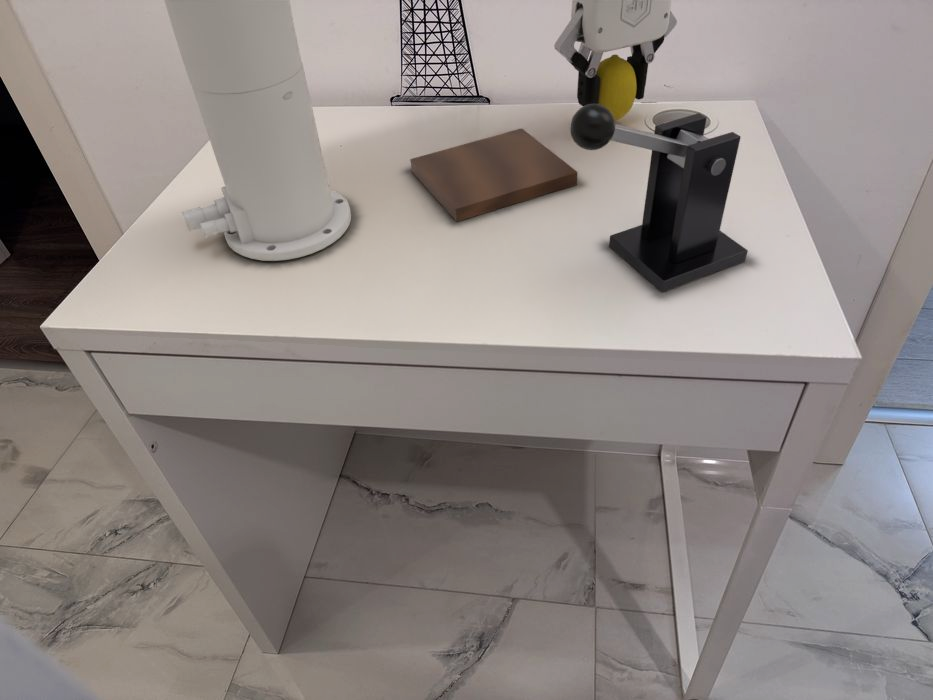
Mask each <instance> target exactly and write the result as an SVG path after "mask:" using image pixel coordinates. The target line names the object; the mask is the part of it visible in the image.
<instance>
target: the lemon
mask: <svg viewBox="0 0 933 700" xmlns="http://www.w3.org/2000/svg"><path fill="white" fill-rule="evenodd" d="M626 60H627V59H625V58H622V57H620V56H619V55H618V54H612V55H611V56H609V57H607V58H603V60H601V61H600V64H599V66H598V69H597V72H596V75H598V76H599V77H600V89H599V101H598V104H600V105H603V106H605V107H606V108H607V109H609V110H610V112H611V113H612V115H613V117H614V120H615V121H618V120H620V119H622V118H623V117H625V116H626V115H627V114H628V113H629V112H630V111H631V109H632V107H633V105H634V103H635V99H636V98H635V96H636V89H637V84H636V76H635V72H634V69H633V67H632V66H631V65H630V64H629V63H628V62H627V61H626Z"/></svg>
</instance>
